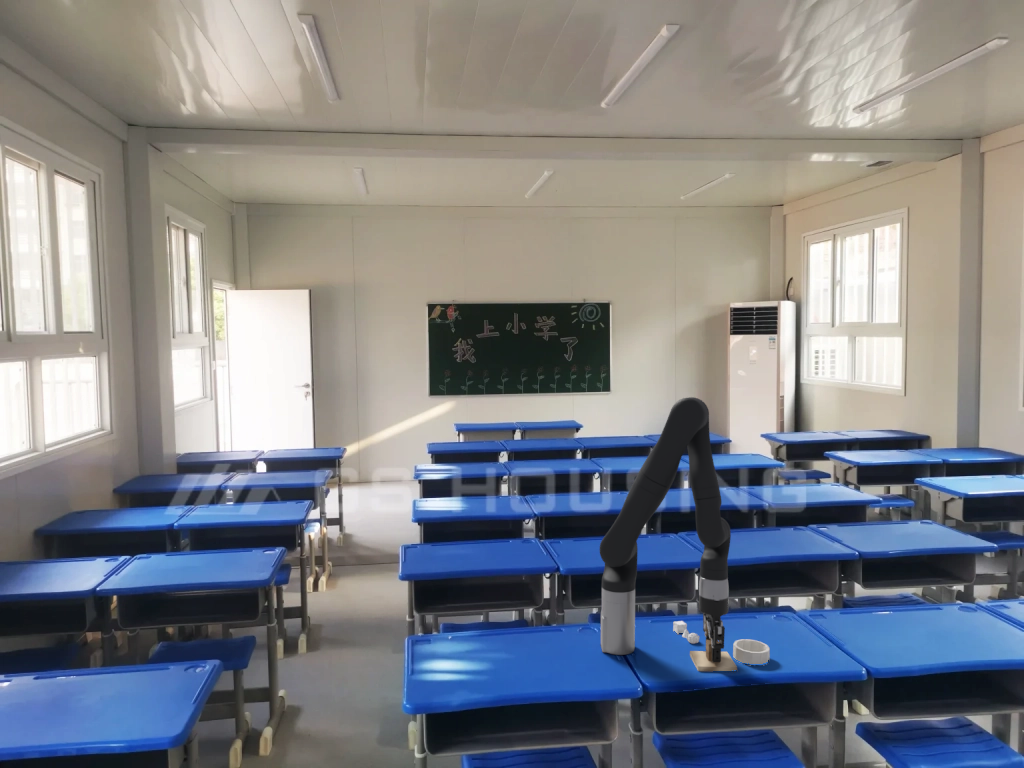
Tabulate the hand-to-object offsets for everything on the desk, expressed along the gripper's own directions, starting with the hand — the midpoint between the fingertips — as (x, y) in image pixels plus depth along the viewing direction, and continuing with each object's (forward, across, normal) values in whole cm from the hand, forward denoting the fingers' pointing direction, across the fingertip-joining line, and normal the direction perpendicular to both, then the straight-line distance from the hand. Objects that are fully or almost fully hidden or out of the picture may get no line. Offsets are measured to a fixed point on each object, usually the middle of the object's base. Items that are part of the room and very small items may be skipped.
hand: (713, 656), depth 189 cm
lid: (+2, 0, 0) cm, 2 cm away
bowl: (+2, -4, +11) cm, 12 cm away
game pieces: (+3, -19, -3) cm, 19 cm away
